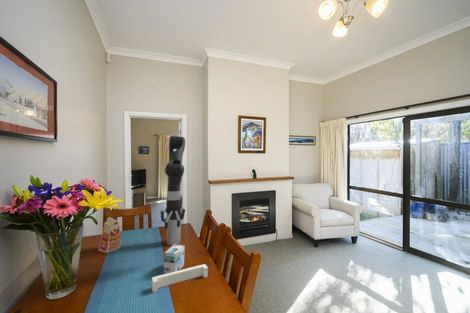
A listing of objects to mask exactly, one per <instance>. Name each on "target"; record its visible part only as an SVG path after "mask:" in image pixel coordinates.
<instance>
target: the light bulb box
mask: <svg viewBox="0 0 470 313" xmlns="http://www.w3.org/2000/svg"><path fill="white" fill-rule="evenodd" d="M185 247H186V246H185V245H182V244H177V245H176V244H174V245H171V247H169V248H168V249H167V250H166V251H164V258H163V259H164V261H163V262H164V263H163V273H164V274H167V273H171V272H175V271H179V270H182V268H183V267H184V266H185V251H186V250H185V249H186V248H185Z"/></svg>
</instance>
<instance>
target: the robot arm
mask: <svg viewBox="0 0 470 313" xmlns="http://www.w3.org/2000/svg"><path fill="white" fill-rule="evenodd" d="M185 147H186V138H185V137H184V136H175V135H173V136H172V135H171V136H169V140H168V163H167V164H166V166H165V168H164V173H165V175H166V176H167V191H166V192H167V193H166V200H165V201H166V202H165V203H166V207H165V209H163V210H160V212H159V214H160V218H161V219H160V220H161V222H163V223H164V228H165V229H166V244H167V245H168V246H173V245H174V244H176V245H180V243H181V237H182V236H181V235H182V234H181V233H182V220H184V217H185V212H186V209H185V208H184V207H183V196H182V195H181V185H182V184H181V183H182V178H183V176H184V172H185V166H184V165H183V163H182V161H183V155H184V151H185ZM182 207H183V208H182ZM165 213H166V217H165Z"/></svg>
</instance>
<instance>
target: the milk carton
mask: <svg viewBox="0 0 470 313" xmlns="http://www.w3.org/2000/svg"><path fill="white" fill-rule="evenodd" d="M120 231H121V229H120V223H119V222H118V220H117V219H114V218H112V217H110V216H109V217H108V219H107V221H105V222H104V225H103V229H102V233H101V238H100V241H99V246H98V251H99V252H102V253H106V254H107V253H109V252H113V251H117V250H118V249H120V248H121V232H120Z"/></svg>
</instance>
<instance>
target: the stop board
mask: <svg viewBox="0 0 470 313" xmlns="http://www.w3.org/2000/svg"><path fill="white" fill-rule="evenodd" d="M208 275H209V267H208V266H207V264H205V263H204V264H200V265H196V266H191V267H187V268H184V269H180V270H179V271H175V272H171V273H164V274H160V275H156V276H153V277H151V290H152V293H157V292H158V291H159V289H160V288H163V287H167V286H168V287H169V286H170V285H175V284H177V283H181V282H185V281H189V280H192V279H195V278H199V277H203V278H208Z"/></svg>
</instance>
